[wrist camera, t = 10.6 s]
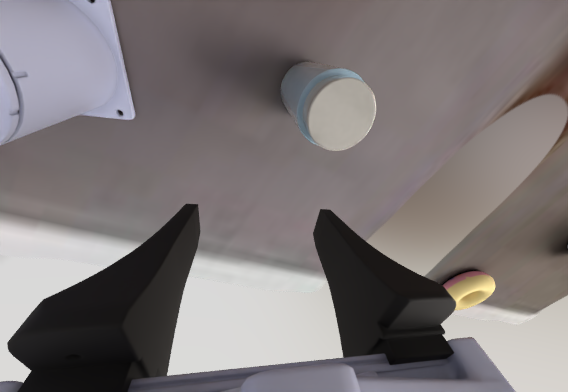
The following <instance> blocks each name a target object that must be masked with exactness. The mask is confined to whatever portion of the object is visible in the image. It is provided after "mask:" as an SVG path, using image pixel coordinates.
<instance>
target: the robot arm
mask: <svg viewBox="0 0 568 392" xmlns="http://www.w3.org/2000/svg"><path fill="white" fill-rule="evenodd" d="M118 110H121V111H122V112H123V115H121V114H119V112H118ZM77 115H86V116H95V117H105V118H114V119H124V120H131V119H133V118H134V117H135V110H134V105H133V101H132V96H131V92H130V87H129V82H128V78H127V73H126V69H125V64H124V60H123V55H122V50H121V46H120V41H119V37H118V32H117V28H116V23H115V19H114V14H113V9H112V5H111V1H110V0H95V2H94V3H92V2H91V1H90V0H0V145H3V144H5V143H8V142H11V141H13V140H16V139H18V138H21V137H23V136H26V135H28V134H31V133H34V132H36V131H39V130H41V129H44V128H46V127H49V126H52V125H54V124H57V123H59V122H62V121H64V120H67V119H69V118H72V117H75V116H77ZM199 236H200V223H199V211H198V204H186V205H184V206H183V207H182V208H181V209H180V211H179V212H178V213H177V214H176V215H175V216H174V217H173V218H172V219H171V220H170V221H168V222H167V223H166V224H165V225H164V226H163V227H162V228H161V229H160V230H159V231H158V232H156V233H155V234H154V235H153V236H152V237H151V238H149V239H148V240H147V241H146V242H144V243H143V244H142V245H141V246H139V247H138V248H136V249H135V250H134V251H132V252H131V253H129V254H128V255H126V256H125V257H123V258H122V259H120V260H118V261H117V262H115V263H114V264H112V265H110V266H109V267H107V268H105V269H104V270H102V271H100V272H98V273H97V274H95V275H93V276H91V277H89V278H87V279H85V280H84V281H82V282H79V283H78V284H75V285H73V286H71V287H69V288H67V289H65V290H63V291H61V292H59V293H57V294H55V295H52V296H50V297H48V298H46V299H44V300H43V301H42V302H41V303H40V304H39V305H38V306H37V307H36V308H35V310H34V311H33V312H32V313H31V314H30V315H29V317H28V318H27V319H26V320H25V322H24V323H23V324H22V325H21V326H20V328H19V329H18V330H17V331H16V333H15V334H14V335H13V336H12V338H11V339H10V340H9V342H8V350H9V352H10V353H11V354H12V355H13V356H14V357H15V358H16V359H18V360H19V361H20V362H21V363H23V364H24V365H25V366H26V367H28V368H29V369H30V370H31V373H30V374H29V376H28V377H27V378H26V380H25V381H24V383H22V382H18V381H3V382H0V392H515V390H514V389H513V388H512V386H511V385H510V384H509V383H508V381H507V380H506V379H505V378H504V376H503V375H502V374H501V372H500V371H499V370H498V368H497V367H496V366H495V365H494V363H493V362H492V361H491V360H490V358H489V357H488V356H487V354H486V353H485V352H484V350H483V349H482V348H481V347H480V345H479V344H478V343H477V341H476V340H475V339H474V338H472V337H468V338H457V339H451V340H449V341H446V340H445V338H444V337H443V336H442V334H444V333H445V331H444V329H443V328H442V326H441V325H440V324H441V323H442V322H443V321H444V320H445V319H447V318H448V317H449V316H450V315H451V314H452V313H453V311H454V310H455V308H456V301H455V300H454V299H453V297H452V296H451V295H450V294H449V293H448V291H447V290H446V289H445V288H444V286H443V285H441V284H439V283H437V282H434V281H432V280H430V279H428V278H426V277H423V276H421V275H419V274H417V273H415V272H413V271H411V270H409V269H407V268H405V267H404V266H402V265H400V264H398V263H397V262H395V261H393V260H392V259H390V258H388V257H387V256H385V255H383V254H382V253H381V252H379V251H378V250H376V249H375V248H373V247H372V246H371V245H370V244H368V243H367V242H366V241H365V240H363V239H362V238H361V237H360V236H358V235H357V234H356V233H355V232H354V231H353V230H351V229H350V228H349V227H348V226H347V225H346V224H345V223H344V222H343V221H342V220H341V219H340V218H338V217H337V216H336V215H335V214H334V213H333V212H332V211H331V210H326V209H320V212H319V216H318V219H317V222H316V226H315V229H314V232H313V236H314V241H315V246H316V249H317V252H318V255H319V258H320V261H321V264H322V267H323V269H324V272H325V275H326V278H327V281H328V284H329V287H330V291H331V295H332V300H333V304H334V308H335V313H336V318H337V323H338V328H339V333H340V339H341V345H342V350H343V358H336V359H326V360H317V361H307V362H297V363H288V364H278V365H268V366H259V367H249V368H239V369H229V370H219V371H210V372H200V373H190V374H182V375H171V376H167V372H168V366H169V360H170V354H171V349H172V343H173V338H174V333H175V328H176V323H177V318H178V313H179V308H180V303H181V299H182V295H183V290H184V287H185V283H186V280H187V277H188V274H189V271H190V268H191V265H192V262H193V259H194V256H195V253H196V250H197V246H198V241H199Z"/></svg>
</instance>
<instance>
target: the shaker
mask: <svg viewBox="0 0 568 392" xmlns="http://www.w3.org/2000/svg"><path fill="white" fill-rule="evenodd" d="M281 98H282V102H283V104H284V106H285V107H286V109H287V111H288V112H289V114H290V115H291V117H292V118H293V120H294V121H295V123H296V125H297V126H298V128H299V129H300V131H301V132H302V134H303V135H304V137H305V138H306V139H307V140H309V141H310V142H311V143H313V144H315V145H318V146H320V147H322V148H324V149H326V150H331V151H340V150H345V149H348V148H350V147H352V146H354V145H355V144H357V143H358V142H360V141H361V140H362V139H363V138H364V137H365V136H366V134H367V133H368V132H369V130H370V128H371V126H372V124H373V122H374V119H375V114H376V101H375V97H374V94H373V92H372V90H371V89H370V87H369V86H368V85H367V84H366V83H365V82H364V81H363V79H362V78H361V77H360V76H359V75H358V74H356V73H355V72H353V71H351V70H348V69H344V68H339V67H335V66H330V65H325V64H320V63H315V62H309V61H306V62H300V63H298V64H296V65H294V66H293V67H292V68H290V69H289V70H288V72H287V73H286V75H285V76H284V78H283V81H282V84H281Z"/></svg>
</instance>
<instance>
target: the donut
mask: <svg viewBox="0 0 568 392" xmlns="http://www.w3.org/2000/svg"><path fill="white" fill-rule="evenodd" d="M443 286H444V288H445V289H446V290H447V291H448V293H449V294H450V295H451V296H452V297H453V299H454V300H455V301H456V308H455V310H462V309H466V308H469V307H472V306H474V305H477V304H479V303H480V302H482V301H484V300H485V299H487V298H488V297H489V296H490V295H491V294H492V293H493V291H494V289H495V282H494V280H493V278H492V277H491V276H489V275H488V274H486V273H484V272H480V271H471V272H466V273H463V274H460V275H458V276H455V277H453V278H452V279H450V280H449V281H447V282H446V283H445V284H443Z"/></svg>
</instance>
